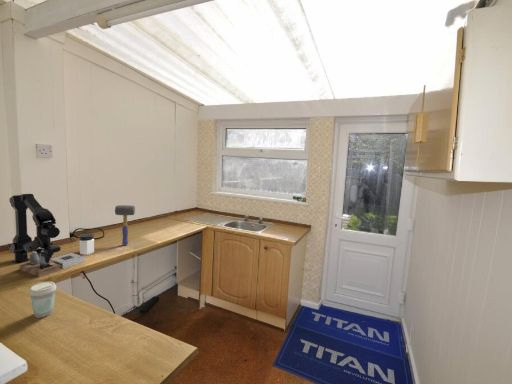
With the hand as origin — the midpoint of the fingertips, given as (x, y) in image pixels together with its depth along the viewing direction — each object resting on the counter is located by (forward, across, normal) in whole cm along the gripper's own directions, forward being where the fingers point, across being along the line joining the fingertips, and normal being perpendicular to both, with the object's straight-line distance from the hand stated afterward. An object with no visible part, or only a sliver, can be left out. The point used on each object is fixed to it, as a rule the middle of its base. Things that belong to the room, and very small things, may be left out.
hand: (44, 262), depth 138 cm
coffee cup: (+6, +41, -22) cm, 47 cm away
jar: (+6, -8, +29) cm, 31 cm away
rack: (+6, -4, 0) cm, 7 cm away
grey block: (+4, 0, 0) cm, 4 cm away
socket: (+6, -2, +13) cm, 14 cm away
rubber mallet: (+6, 0, +52) cm, 52 cm away
